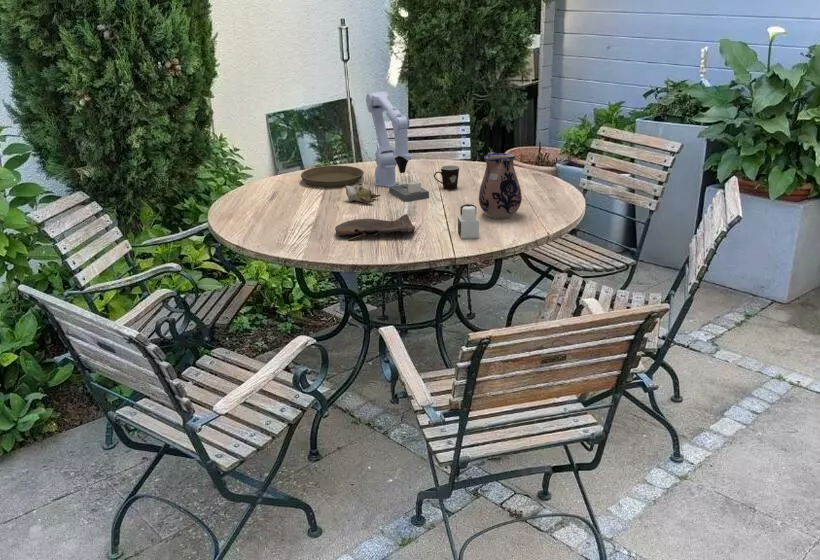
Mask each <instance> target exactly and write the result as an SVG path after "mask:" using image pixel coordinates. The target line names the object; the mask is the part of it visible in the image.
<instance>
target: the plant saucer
mask: <svg viewBox="0 0 820 560" xmlns="http://www.w3.org/2000/svg"><path fill="white" fill-rule="evenodd" d="M363 175H364V170H362V168H358V167H355V166H351V165H325V166H324V165H321V166H316V167H312V168H309V169H306V170H304V171H302V172H301V174H300V177H301V179H302V181H303V182H305V183H306V184H307V186H310V187H313V188H317V189H318V188H319V189H336V188H337V189H338V188H344V187H345V188H346V185H347V186H352V185H355V184H357V183H358V182H359V181H360V180H361V179H362V178H363Z"/></svg>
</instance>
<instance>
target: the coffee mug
mask: <svg viewBox="0 0 820 560" xmlns="http://www.w3.org/2000/svg"><path fill="white" fill-rule="evenodd" d="M459 172H460V166H457V165H443V166H441V167H440V171H439V170H438V171H436V172H435V173H434V174H433V177H434V180H436V181H437V182H439V183H441V184H442V187H443V188H442V189H443V190H445V191H455V190H457V189H458V182H459V174H460V173H459ZM437 174H440V175H441V179H442V180H441V181H440V180H439V179H438V178H437V177H436V175H437Z"/></svg>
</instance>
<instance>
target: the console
mask: <svg viewBox="0 0 820 560" xmlns="http://www.w3.org/2000/svg"><path fill="white" fill-rule="evenodd" d="M388 193H389V194H390V195H392V196H394V197H395V198H397V199H400V200H401V201H402V202H405V203H408V202H413V201H418V200H424V199H425V200H426V199H429V198H430V191H429V190H427V189H425V188H423V187H421V192H415V193H410V192H408V183H404V184H397V185H394V186H390V187H388Z"/></svg>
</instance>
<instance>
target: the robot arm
mask: <svg viewBox="0 0 820 560" xmlns="http://www.w3.org/2000/svg"><path fill="white" fill-rule="evenodd" d="M365 102H366V107H367V110H368V113H370V114H371V116H372V121H373V126H374V130H375V133H376V137H377V142H378V146H379V148H378V149H377V150H376V151H375V163H376V165H377V166H376V167H375V170H374V176H375V177H374V179H375V181H374V182H375V184H374V186H378V187H387V188H389V187H390V186H397V185H400V182H398V181H396V180H397V178H396V167H397V168H398V171H399V173H400V174H405V173H406V168H407V165H408V162H409V161H411V160H412V156H411V154H410V153H409V146H408V145H409V143H408V142H409V141H408V139H409V138H408V129H409V128H410V125H411V124H410V120H409V119H410V118H409V117H408V115H404V114H402V113H401V111H400V110H399V109H398V107H396V106H394V105H392V103H391V101H390V95H389V92H388V91H386V90H385V91H376V92H375V91H374V92H368V93H367V94H366V98H365ZM383 112H386V117H387V118H388V119H389V120H390V122H391V125H392V126H391V127H392V129H393V130H392V131H393V134H394V146H392V145H390V140H389V137H388V133H387V128H386V123H385V120H384V115H383Z"/></svg>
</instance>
